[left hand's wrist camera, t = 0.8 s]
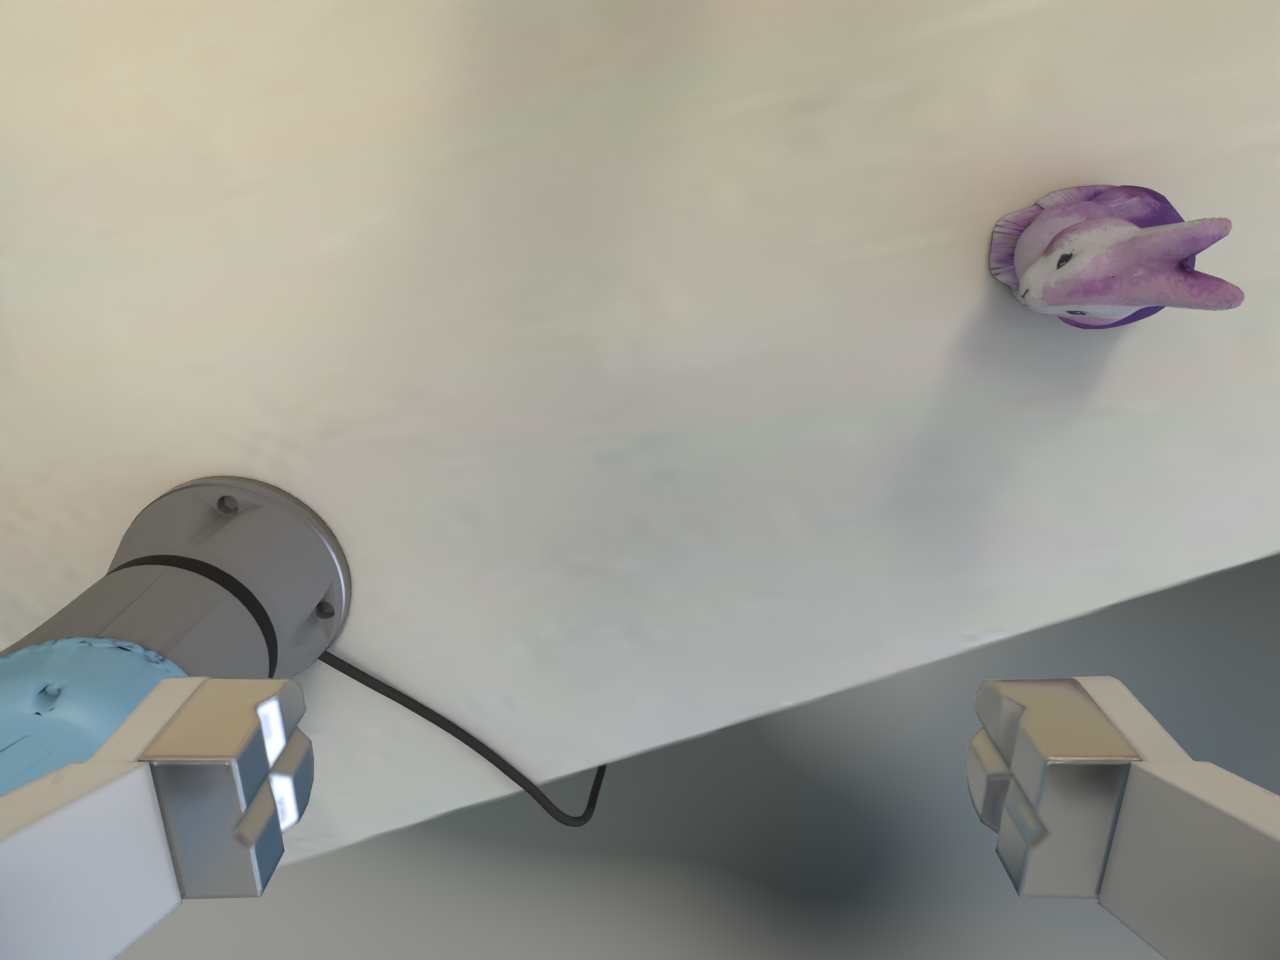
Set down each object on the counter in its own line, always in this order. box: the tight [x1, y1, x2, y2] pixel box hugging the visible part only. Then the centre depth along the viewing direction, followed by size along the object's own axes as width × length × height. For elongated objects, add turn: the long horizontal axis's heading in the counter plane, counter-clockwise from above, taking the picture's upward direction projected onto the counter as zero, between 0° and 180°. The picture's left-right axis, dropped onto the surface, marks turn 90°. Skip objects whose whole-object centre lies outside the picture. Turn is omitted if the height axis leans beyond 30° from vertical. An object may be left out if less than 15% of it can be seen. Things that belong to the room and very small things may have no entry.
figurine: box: [989, 185, 1244, 329], centre depth 47 cm, size 9×10×15 cm
